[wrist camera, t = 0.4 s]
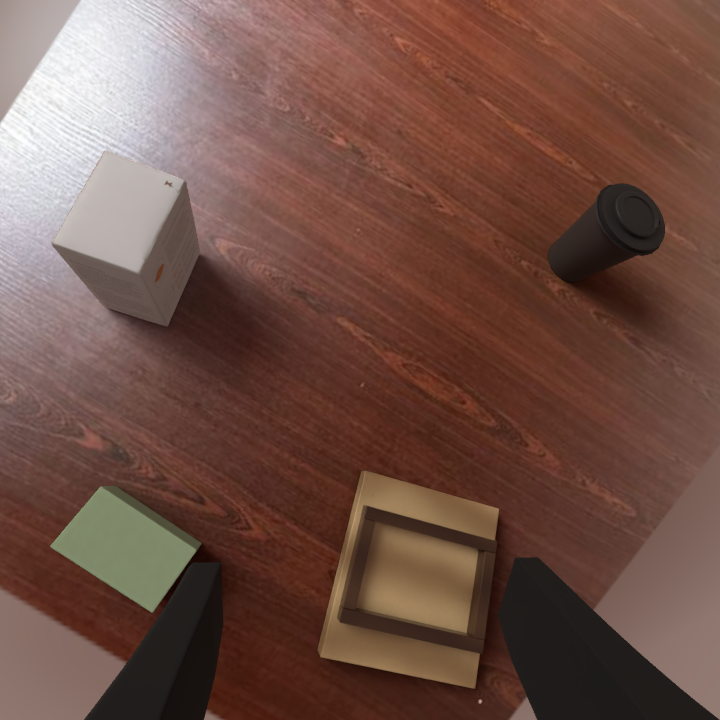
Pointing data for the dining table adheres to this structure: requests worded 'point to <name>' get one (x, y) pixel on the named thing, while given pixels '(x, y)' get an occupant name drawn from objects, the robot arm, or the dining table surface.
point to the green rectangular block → (127, 546)
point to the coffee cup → (608, 233)
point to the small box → (131, 238)
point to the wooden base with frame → (412, 582)
